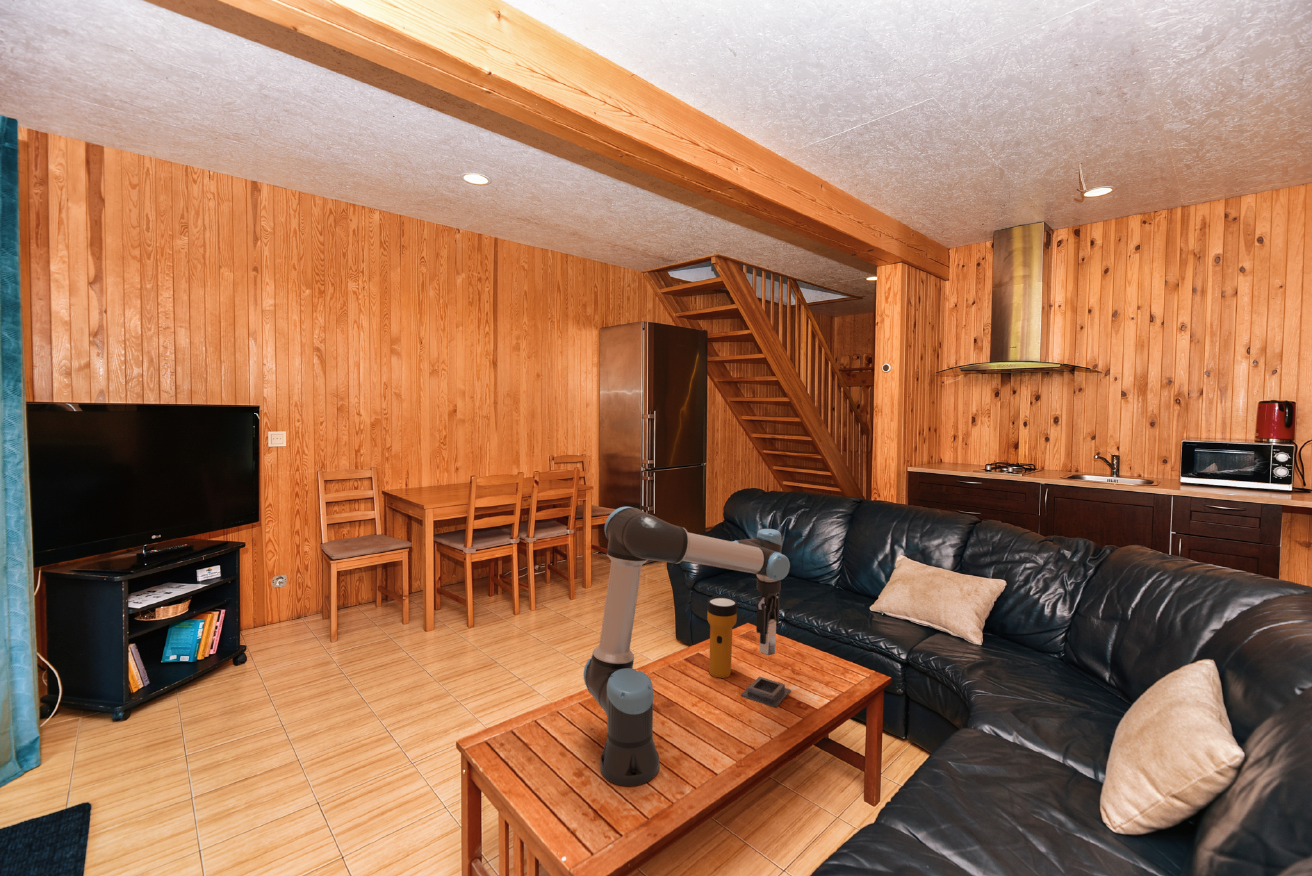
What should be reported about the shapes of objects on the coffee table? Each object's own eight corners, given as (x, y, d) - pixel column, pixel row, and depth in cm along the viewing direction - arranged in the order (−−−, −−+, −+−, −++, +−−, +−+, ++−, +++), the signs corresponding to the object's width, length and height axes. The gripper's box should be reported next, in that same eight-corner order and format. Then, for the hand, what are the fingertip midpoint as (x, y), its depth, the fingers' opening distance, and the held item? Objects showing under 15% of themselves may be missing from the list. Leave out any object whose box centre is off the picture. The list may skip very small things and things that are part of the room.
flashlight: (739, 596, 196) (734, 607, 186) (737, 668, 198) (732, 682, 189) (711, 593, 199) (705, 603, 189) (709, 663, 201) (703, 677, 191)
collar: (776, 708, 173) (776, 699, 173) (741, 696, 180) (741, 688, 179) (791, 691, 183) (791, 683, 182) (756, 680, 189) (757, 673, 189)
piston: (771, 656, 177) (772, 623, 176) (757, 652, 180) (757, 620, 179) (778, 650, 181) (778, 618, 180) (763, 646, 184) (764, 615, 183)
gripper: (768, 588, 169) (767, 663, 171) (790, 573, 184) (789, 642, 185) (745, 583, 173) (744, 656, 175) (769, 569, 188) (768, 636, 190)
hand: (767, 649), depth 180 cm, fingers closed on piston, 5 cm apart
